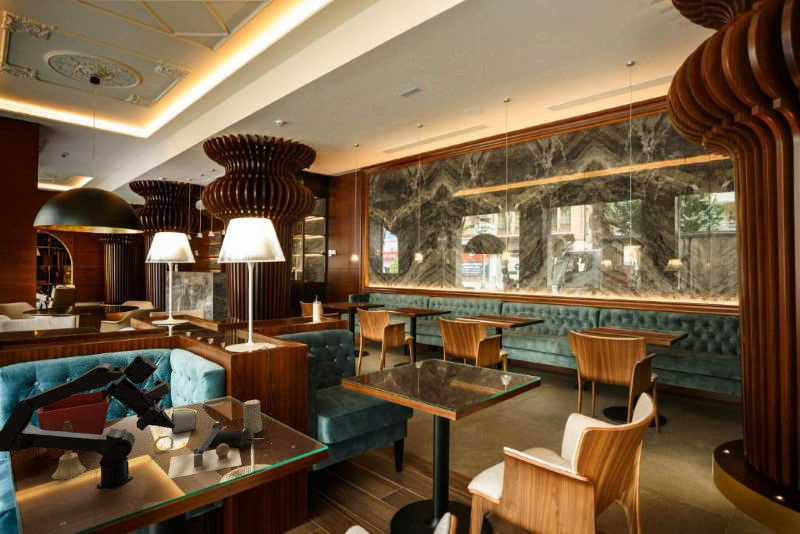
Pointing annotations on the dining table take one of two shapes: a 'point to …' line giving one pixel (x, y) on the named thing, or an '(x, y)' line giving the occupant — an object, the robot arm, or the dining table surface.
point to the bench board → (202, 462)
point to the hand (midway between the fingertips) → (173, 426)
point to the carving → (252, 415)
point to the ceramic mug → (184, 421)
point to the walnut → (222, 451)
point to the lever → (209, 437)
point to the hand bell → (68, 461)
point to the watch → (160, 438)
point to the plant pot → (75, 416)
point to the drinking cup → (235, 438)
